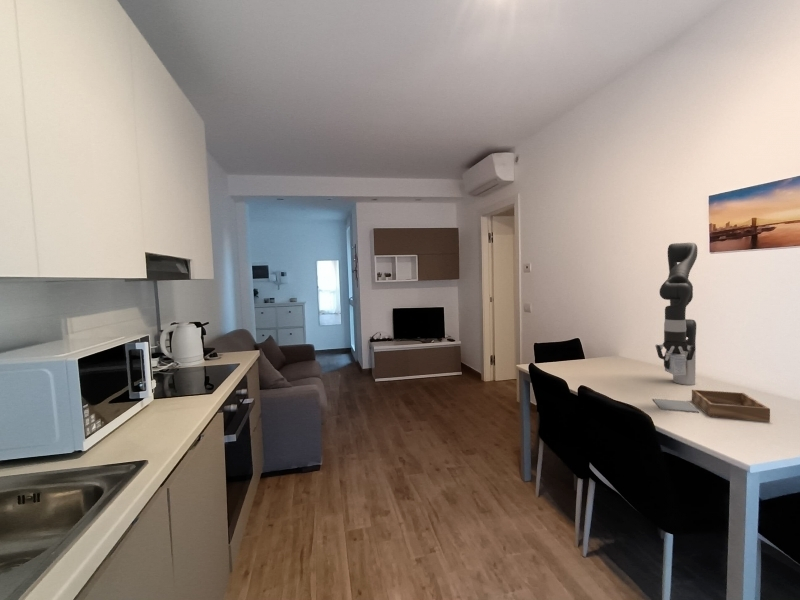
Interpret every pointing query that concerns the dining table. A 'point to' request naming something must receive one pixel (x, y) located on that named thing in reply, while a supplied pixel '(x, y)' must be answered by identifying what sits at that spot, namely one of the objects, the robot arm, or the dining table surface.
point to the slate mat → (675, 405)
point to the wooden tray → (746, 411)
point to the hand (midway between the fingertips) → (674, 368)
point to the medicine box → (677, 364)
